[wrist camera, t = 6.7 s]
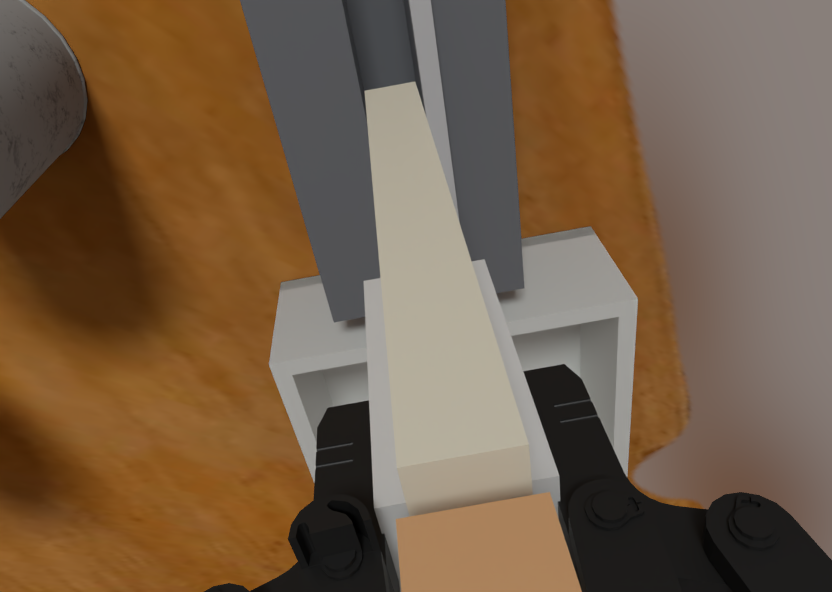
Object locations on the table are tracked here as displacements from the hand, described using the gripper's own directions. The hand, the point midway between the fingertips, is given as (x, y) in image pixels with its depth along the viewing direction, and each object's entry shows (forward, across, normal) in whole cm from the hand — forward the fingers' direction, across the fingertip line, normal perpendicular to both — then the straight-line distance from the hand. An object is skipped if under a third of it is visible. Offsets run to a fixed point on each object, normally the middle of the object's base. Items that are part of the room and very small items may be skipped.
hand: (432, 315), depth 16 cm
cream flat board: (+6, 0, 0) cm, 6 cm away
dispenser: (+22, 0, 0) cm, 22 cm away
